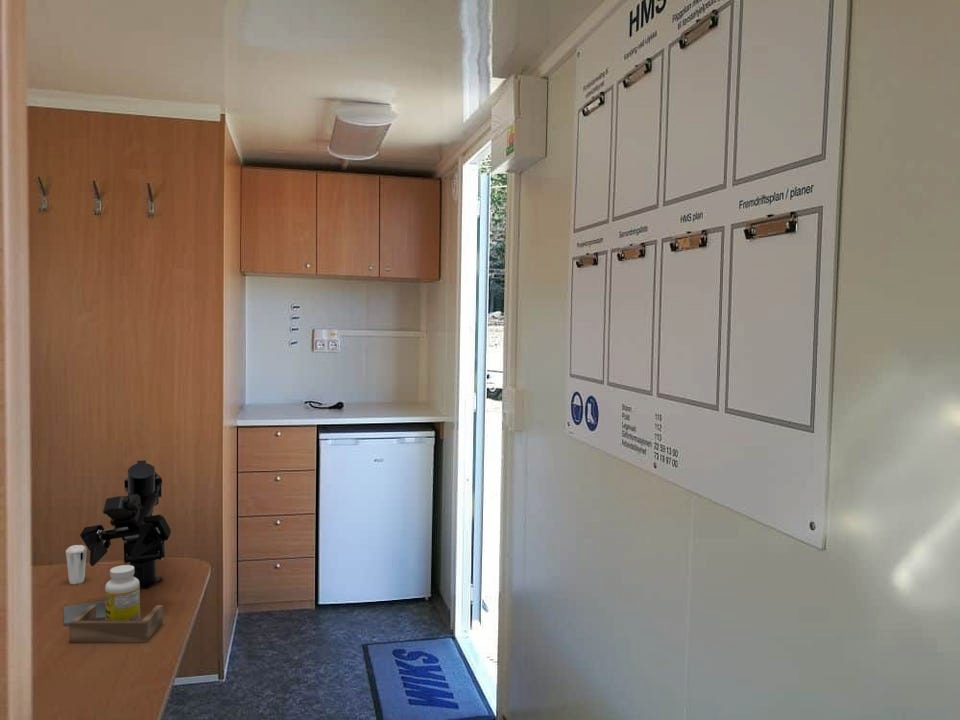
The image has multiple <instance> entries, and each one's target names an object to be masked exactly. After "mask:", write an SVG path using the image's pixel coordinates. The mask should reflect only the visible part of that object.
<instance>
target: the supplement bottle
mask: <svg viewBox="0 0 960 720" xmlns="http://www.w3.org/2000/svg"><path fill="white" fill-rule="evenodd" d="M134 573H135V571H134V566H131V565H130V564H124V565H123V564H122V565H117V566H114V567H112V568H110V570H109V576H110V578H111V579H110V580H108V581H107V582H106V584H105V585H104V597H105V599H104V600H105V619H104V621H141V607H140V606H141V604H140V603H141V602H140V601H141V600H140V598H141V597H140V596H141V595H140V593H141V591H140V589H141V588H140V583H139V580H138V579H137V578H136V577H134V576H133V575H134Z"/></svg>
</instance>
